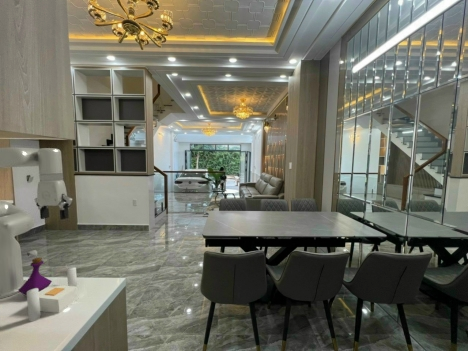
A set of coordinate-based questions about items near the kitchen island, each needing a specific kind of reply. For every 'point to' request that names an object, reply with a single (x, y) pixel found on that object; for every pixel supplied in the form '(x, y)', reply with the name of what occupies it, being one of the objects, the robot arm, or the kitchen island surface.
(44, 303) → the breaker box
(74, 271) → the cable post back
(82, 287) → the kitchen island surface
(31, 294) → the post
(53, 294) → the button
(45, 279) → the perfume bottle
